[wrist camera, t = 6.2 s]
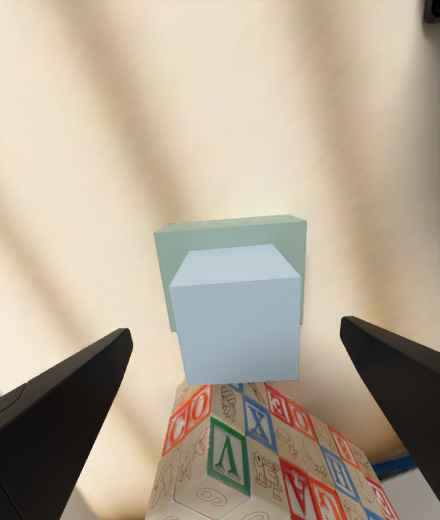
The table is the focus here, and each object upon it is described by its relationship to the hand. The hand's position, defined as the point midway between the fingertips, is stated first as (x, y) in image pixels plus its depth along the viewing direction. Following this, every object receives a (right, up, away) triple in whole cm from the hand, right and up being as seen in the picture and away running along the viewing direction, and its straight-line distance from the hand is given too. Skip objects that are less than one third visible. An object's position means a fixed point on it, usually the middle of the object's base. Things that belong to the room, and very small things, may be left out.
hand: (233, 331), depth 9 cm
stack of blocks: (+5, -14, +14) cm, 20 cm away
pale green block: (0, +3, +8) cm, 9 cm away
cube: (0, +1, +5) cm, 5 cm away
